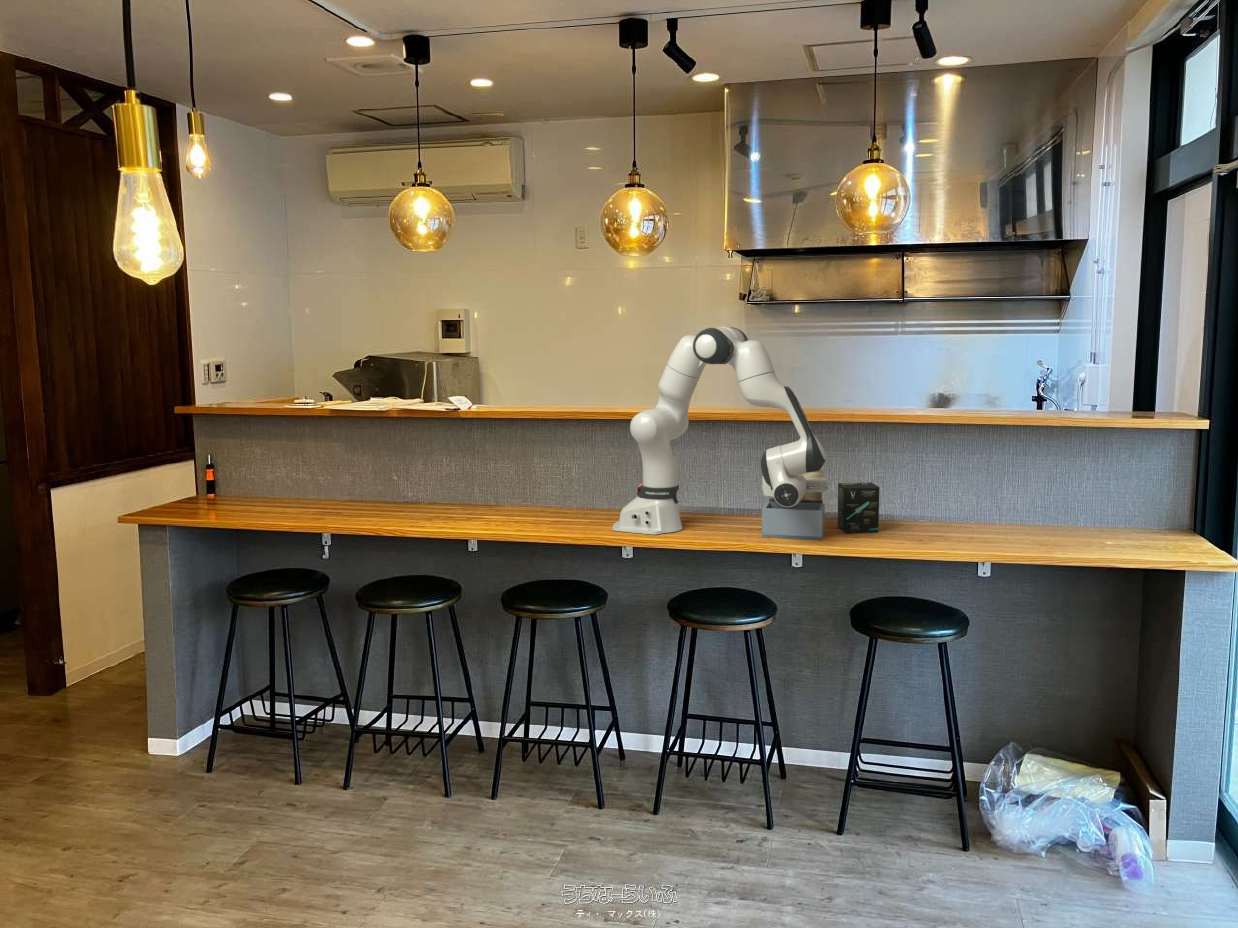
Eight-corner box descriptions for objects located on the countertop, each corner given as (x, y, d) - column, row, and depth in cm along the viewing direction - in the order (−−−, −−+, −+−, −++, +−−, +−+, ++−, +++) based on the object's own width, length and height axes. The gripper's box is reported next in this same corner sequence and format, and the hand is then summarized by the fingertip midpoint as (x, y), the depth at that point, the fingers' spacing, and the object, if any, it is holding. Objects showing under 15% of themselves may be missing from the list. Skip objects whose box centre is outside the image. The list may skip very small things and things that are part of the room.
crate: (761, 537, 292) (762, 508, 291) (766, 529, 304) (766, 501, 302) (821, 540, 287) (822, 510, 286) (824, 531, 299) (824, 503, 298)
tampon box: (870, 526, 306) (871, 481, 304) (879, 532, 297) (880, 486, 294) (836, 527, 305) (837, 482, 303) (844, 533, 296) (845, 487, 294)
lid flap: (769, 501, 302) (772, 449, 306) (769, 501, 303) (772, 450, 307) (822, 503, 298) (824, 450, 302) (822, 503, 299) (825, 451, 303)
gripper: (827, 477, 285) (830, 471, 298) (758, 475, 291) (764, 469, 304) (826, 498, 286) (830, 491, 299) (758, 495, 292) (764, 488, 305)
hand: (796, 480), depth 302 cm, fingers closed, pressing on lid flap
